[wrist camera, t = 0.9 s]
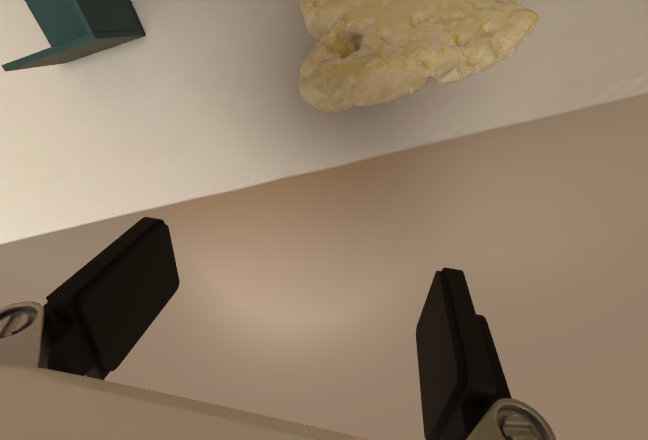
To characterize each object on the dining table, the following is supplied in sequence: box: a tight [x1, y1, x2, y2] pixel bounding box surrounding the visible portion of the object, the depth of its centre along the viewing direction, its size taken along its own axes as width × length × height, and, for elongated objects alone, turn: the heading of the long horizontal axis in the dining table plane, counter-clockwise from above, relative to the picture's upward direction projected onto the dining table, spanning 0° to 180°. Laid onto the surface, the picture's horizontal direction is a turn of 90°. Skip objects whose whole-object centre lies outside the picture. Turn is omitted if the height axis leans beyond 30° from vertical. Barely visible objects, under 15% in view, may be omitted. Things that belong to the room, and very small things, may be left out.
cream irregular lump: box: [298, 0, 538, 113], centre depth 27 cm, size 15×7×15 cm
